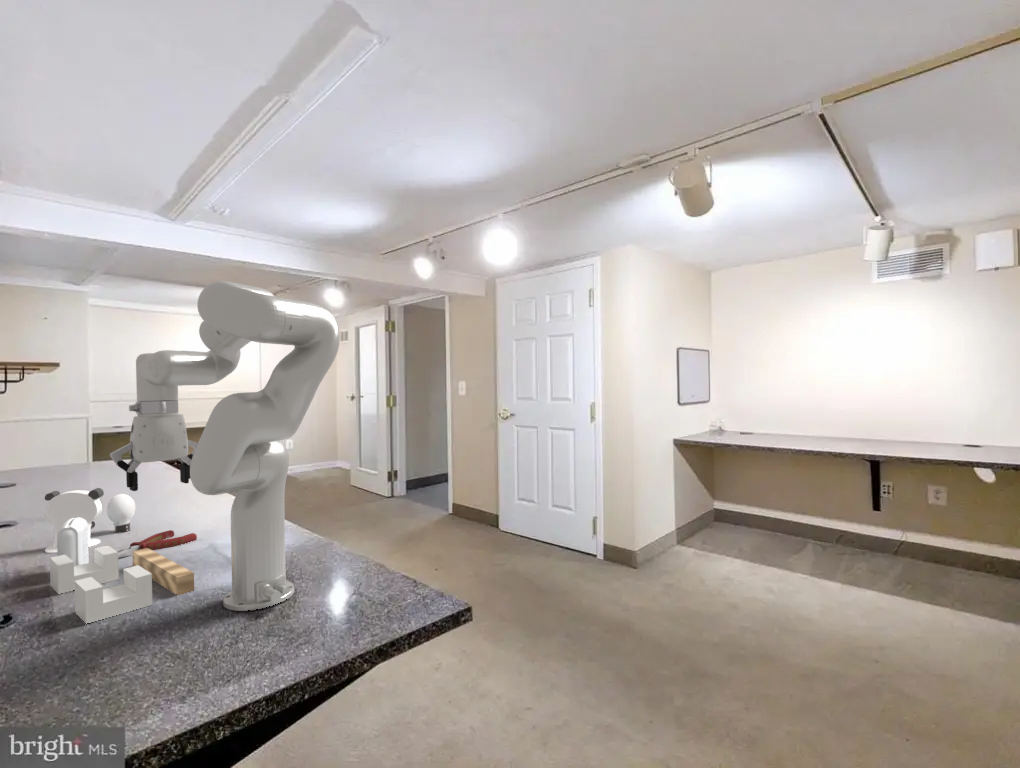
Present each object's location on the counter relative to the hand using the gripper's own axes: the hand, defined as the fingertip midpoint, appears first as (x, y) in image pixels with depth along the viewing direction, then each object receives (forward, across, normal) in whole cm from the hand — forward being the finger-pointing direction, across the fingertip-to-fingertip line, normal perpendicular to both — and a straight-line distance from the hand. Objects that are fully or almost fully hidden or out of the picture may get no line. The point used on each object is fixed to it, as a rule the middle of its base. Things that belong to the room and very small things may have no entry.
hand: (160, 486), depth 112 cm
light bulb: (+20, +5, +54) cm, 58 cm away
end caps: (+20, -11, 0) cm, 23 cm away
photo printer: (+20, -11, +21) cm, 31 cm away
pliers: (+21, +5, +29) cm, 36 cm away
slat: (+20, 0, 0) cm, 21 cm away
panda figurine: (+20, -6, +47) cm, 51 cm away
